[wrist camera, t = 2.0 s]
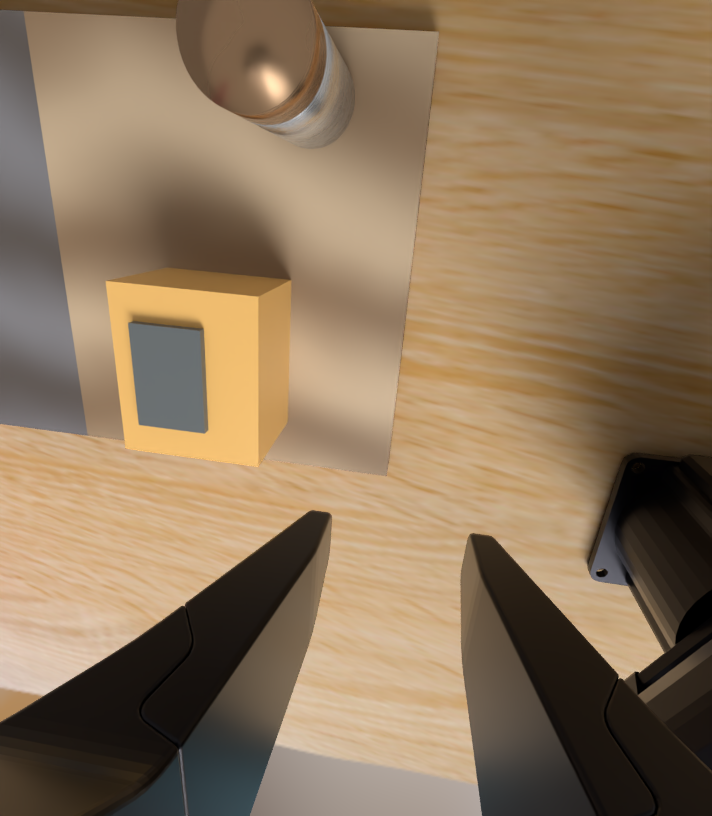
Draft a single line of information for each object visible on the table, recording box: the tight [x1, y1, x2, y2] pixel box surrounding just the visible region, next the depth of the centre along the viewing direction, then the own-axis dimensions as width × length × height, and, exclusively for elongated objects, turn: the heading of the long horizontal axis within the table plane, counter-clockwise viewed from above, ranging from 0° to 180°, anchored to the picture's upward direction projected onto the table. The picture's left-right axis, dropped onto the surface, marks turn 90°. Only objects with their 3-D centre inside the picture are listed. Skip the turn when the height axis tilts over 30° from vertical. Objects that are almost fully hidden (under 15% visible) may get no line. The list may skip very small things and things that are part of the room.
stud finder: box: [106, 268, 291, 467], centre depth 18 cm, size 6×5×4 cm
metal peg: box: [176, 0, 355, 149], centre depth 13 cm, size 3×3×6 cm
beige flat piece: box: [0, 10, 439, 476], centre depth 20 cm, size 16×22×1 cm
